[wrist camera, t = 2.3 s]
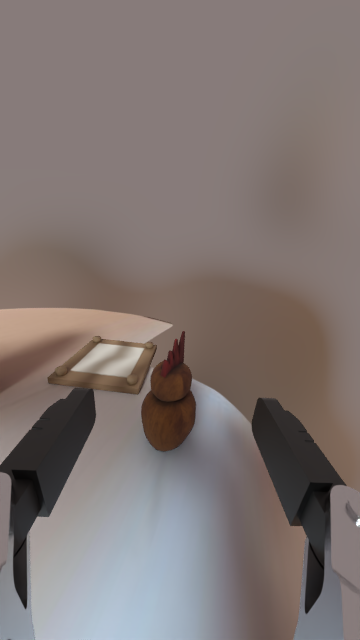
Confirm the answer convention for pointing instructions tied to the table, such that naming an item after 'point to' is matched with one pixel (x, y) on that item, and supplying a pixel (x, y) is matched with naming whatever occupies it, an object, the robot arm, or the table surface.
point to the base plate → (107, 366)
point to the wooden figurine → (169, 402)
